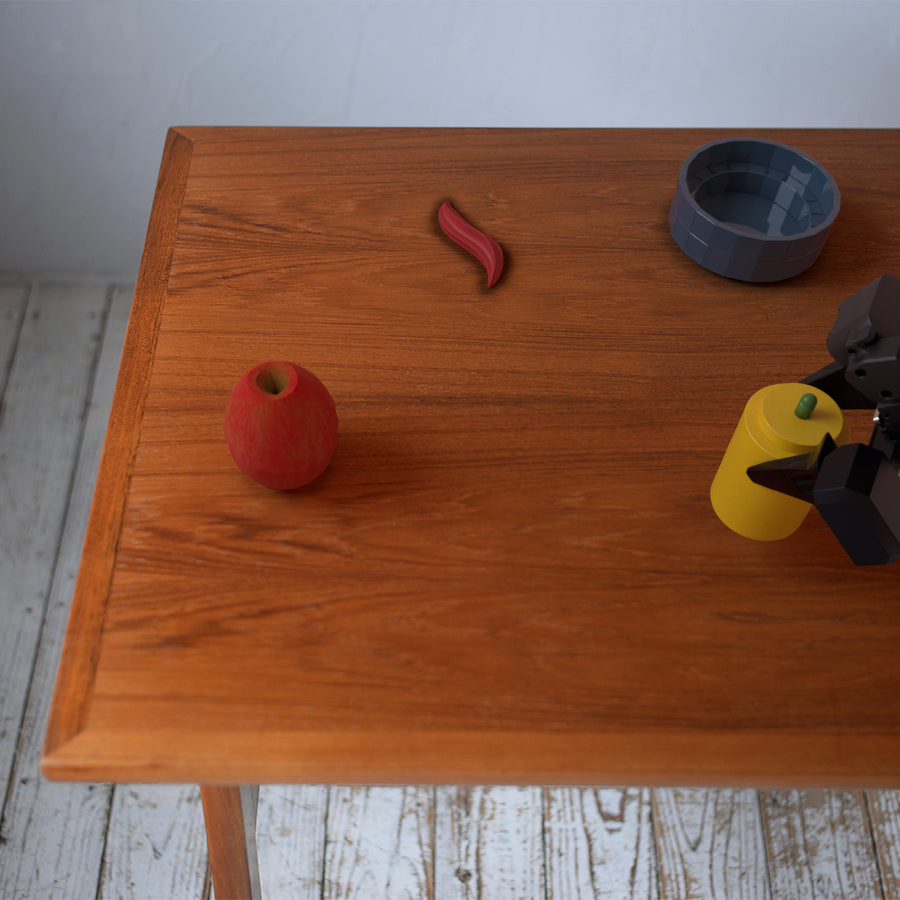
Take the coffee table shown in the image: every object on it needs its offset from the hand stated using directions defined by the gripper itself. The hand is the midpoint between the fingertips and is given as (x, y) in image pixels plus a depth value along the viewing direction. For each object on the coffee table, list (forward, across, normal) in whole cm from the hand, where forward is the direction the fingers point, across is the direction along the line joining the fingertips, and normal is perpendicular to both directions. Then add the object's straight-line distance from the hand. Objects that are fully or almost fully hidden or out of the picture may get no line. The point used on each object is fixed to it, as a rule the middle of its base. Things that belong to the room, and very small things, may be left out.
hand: (765, 436), depth 63 cm
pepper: (+4, 0, +6) cm, 7 cm away
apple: (+30, +11, -14) cm, 35 cm away
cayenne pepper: (+29, -18, -14) cm, 37 cm away
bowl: (+14, -32, +2) cm, 34 cm away
